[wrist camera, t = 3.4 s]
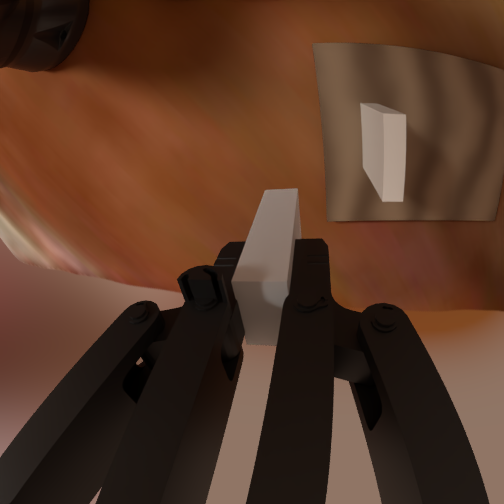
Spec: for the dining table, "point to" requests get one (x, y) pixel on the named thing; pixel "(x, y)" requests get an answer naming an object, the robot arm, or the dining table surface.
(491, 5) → the dining table surface
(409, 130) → the cloth
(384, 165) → the tile
